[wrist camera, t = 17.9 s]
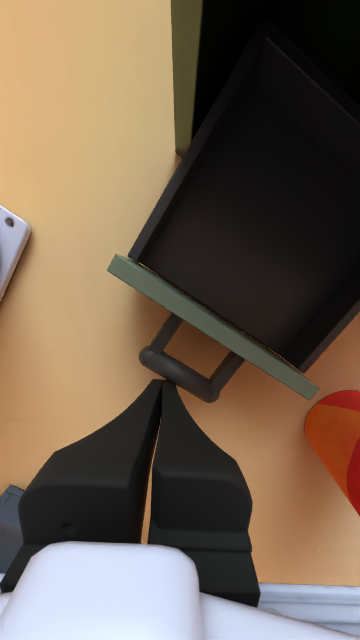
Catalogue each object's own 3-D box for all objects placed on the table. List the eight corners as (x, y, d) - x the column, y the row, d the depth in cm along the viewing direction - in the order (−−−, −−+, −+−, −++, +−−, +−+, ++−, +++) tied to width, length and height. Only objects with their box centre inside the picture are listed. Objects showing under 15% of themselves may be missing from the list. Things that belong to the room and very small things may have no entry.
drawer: (101, 320, 12) (68, 339, 8) (241, 78, 9) (279, -45, 6) (241, 404, 13) (263, 450, 10) (398, 218, 11) (507, 189, 7)
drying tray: (-33, 557, 18) (-60, 593, 16) (10, 484, 16) (-14, 514, 14) (88, 603, 20) (77, 640, 18) (141, 542, 18) (136, 576, 16)
